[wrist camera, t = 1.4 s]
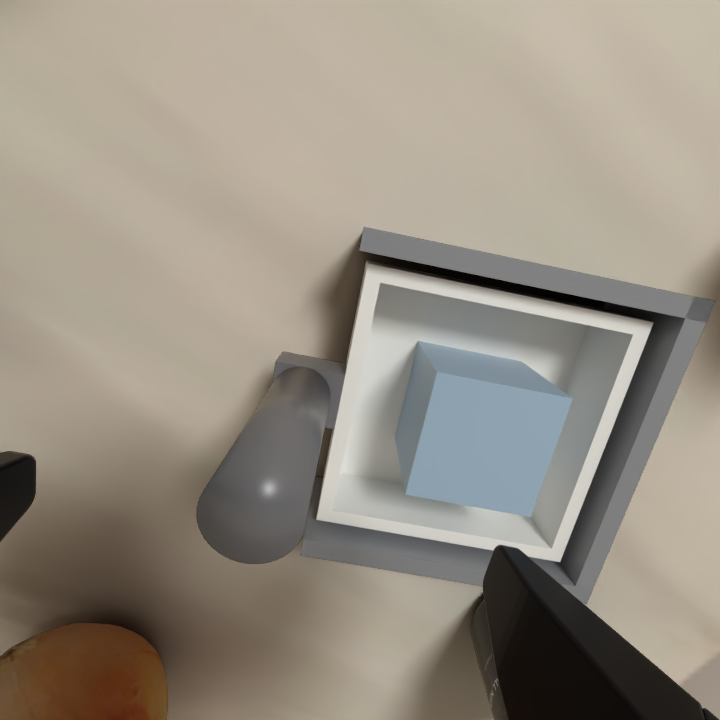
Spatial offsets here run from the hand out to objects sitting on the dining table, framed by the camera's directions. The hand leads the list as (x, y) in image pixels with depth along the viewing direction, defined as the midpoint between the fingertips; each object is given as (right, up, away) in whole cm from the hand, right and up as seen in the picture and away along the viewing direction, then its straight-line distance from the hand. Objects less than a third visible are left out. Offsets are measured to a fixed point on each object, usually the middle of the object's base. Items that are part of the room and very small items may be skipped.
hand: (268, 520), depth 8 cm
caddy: (+5, +2, +13) cm, 14 cm away
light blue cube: (+6, +1, +12) cm, 14 cm away
